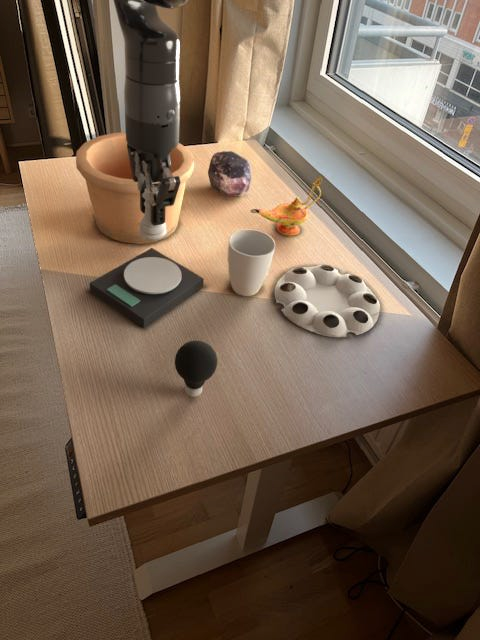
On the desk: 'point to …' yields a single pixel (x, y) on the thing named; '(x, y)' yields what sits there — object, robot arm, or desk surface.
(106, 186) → the pottery
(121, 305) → the scale
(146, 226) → the rook chess piece
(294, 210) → the magic lamp
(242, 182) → the mineral specimen
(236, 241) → the cup
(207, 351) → the light bulb
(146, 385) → the desk surface
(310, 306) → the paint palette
